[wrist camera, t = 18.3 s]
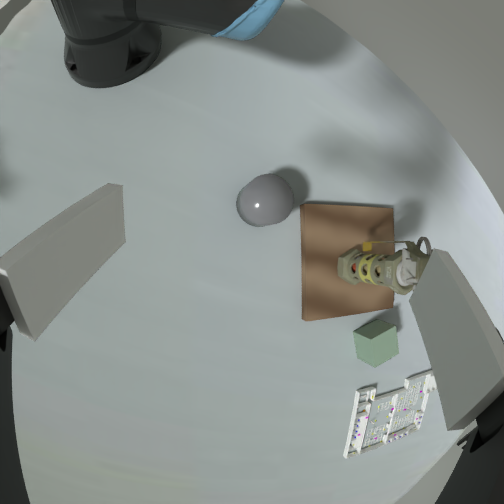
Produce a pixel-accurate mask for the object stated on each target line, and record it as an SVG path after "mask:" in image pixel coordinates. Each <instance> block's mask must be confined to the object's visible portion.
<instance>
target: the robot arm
mask: <svg viewBox="0 0 504 504" xmlns="http://www.w3.org/2000/svg"><path fill="white" fill-rule="evenodd" d="M51 2H52V4H53V7H54V9H55V12H56V14H57V16H58V19H59V21H60V23H61V26H62V28H63V30H64V33H65V35H66V36H65V49H64V61H65V65H66V68H67V70H68V72H69V74H70V75H71V77H72V78H73V79H74V80H75V81H76V82H77V83H79V84H81V85H83V86H86V87H91V88H107V87H112V86H116V85H120V84H123V83H125V82H127V81H129V80H131V79H133V78H135V77H137V76H138V75H140V74H141V73H143V72H144V71H145V70H146V69H147V68H148V67H149V66H150V65H151V64H152V63H153V62H154V60H155V59H156V57H157V55H158V53H159V51H160V47H161V30H160V26H159V25H165V26H171V27H177V28H182V29H187V30H192V31H197V32H201V33H205V34H210V35H211V36H213V37H214V36H215V37H219V36H222V37H227V38H231V39H236V40H249V39H252V38H254V37H256V36H257V35H258V34H259V33H261V32H262V30H263V29H264V28H265V27H266V26H267V25H268V23H269V22H270V21H271V19H272V18H273V17H274V15H275V14H276V12H277V11H278V10H279V8H280V7H281V5H282V3H283V2H284V0H51ZM125 242H126V239H125V226H124V210H123V185H118V184H110V183H108V184H106V185H104V186H103V187H101V188H99V189H98V190H96V191H94V192H93V193H91V194H89V195H88V196H86V197H85V198H83V199H81V200H80V201H78V202H77V203H75V204H74V205H72V206H70V207H69V208H67V209H66V210H64V211H63V212H61V213H60V214H58V215H57V216H55V217H54V218H53V219H51V220H50V221H48V222H47V223H45V224H44V225H42V226H41V227H40V228H38V229H37V230H36V231H34V232H33V233H31V234H30V235H29V236H27V237H26V238H25V239H23V240H22V241H21V242H19V243H18V244H17V245H15V246H14V247H13V248H12V249H10V250H9V251H8V252H7V253H5V254H4V255H3V256H2V257H0V504H30V502H29V498H28V494H27V491H26V487H25V482H24V478H23V474H22V469H21V464H20V459H19V453H18V447H17V440H16V433H15V424H14V414H13V400H12V337H13V334H12V329H11V327H10V325H11V324H12V323H13V321H15V323H16V325H17V327H18V329H19V331H20V333H21V334H22V335H24V336H26V337H28V338H29V339H31V340H33V341H36V340H37V339H38V337H39V336H40V335H41V334H42V332H43V331H44V330H45V329H46V328H47V326H48V325H49V324H50V323H51V322H52V320H53V319H54V318H55V317H56V316H57V315H58V313H59V312H60V311H61V310H62V309H63V308H64V307H65V305H66V304H67V303H68V302H69V301H70V300H71V299H72V298H73V296H74V295H75V294H76V293H77V292H78V291H79V290H80V289H81V288H82V287H83V285H84V284H85V283H86V282H87V281H88V280H89V279H90V278H91V277H92V276H93V275H94V274H95V273H96V272H97V271H98V270H99V268H100V267H101V266H102V265H103V264H104V263H105V262H106V261H107V260H108V259H109V258H110V257H111V256H112V255H113V254H114V253H115V252H116V251H117V250H118V249H119V248H120V247H121V246H122V245H123V244H124V243H125ZM409 302H410V305H411V307H412V310H413V313H414V315H415V318H416V321H417V324H418V327H419V330H420V332H421V335H422V338H423V341H424V344H425V348H426V351H427V354H428V357H429V360H430V364H431V367H432V371H433V374H434V378H435V381H436V385H437V389H438V392H439V396H440V400H441V404H442V409H443V413H444V417H445V422H446V426H447V431H449V430H459V429H464V428H465V427H467V426H468V425H469V424H470V423H471V422H472V421H474V419H476V421H477V425H478V426H477V427H476V428H474V429H473V430H472V431H471V432H469V433H468V434H467V435H466V436H464V437H463V438H462V439H461V440H460V441H459V442H458V443H457V445H458V446H459V445H460V444H462V443H463V442H464V441H467V443H466V445H464V446H463V447H462V449H463V452H462V454H461V456H460V458H459V460H458V462H457V464H456V466H455V468H454V470H453V472H452V474H451V476H450V478H449V480H448V482H447V483H446V485H445V487H444V489H443V491H442V492H441V494H440V496H439V497H438V499H437V501H436V502H435V504H504V343H503V342H504V341H503V339H502V337H501V335H500V333H499V331H498V330H497V328H496V327H495V326H494V324H493V322H492V321H491V319H490V317H489V315H488V314H487V312H486V310H485V308H484V307H483V305H482V303H481V302H480V300H479V298H478V297H477V295H476V294H475V292H474V290H473V289H472V287H471V286H470V284H469V282H468V281H467V279H466V278H465V276H464V275H463V273H462V272H461V270H460V269H459V267H458V266H457V264H456V263H455V262H454V260H453V259H452V257H451V256H450V254H449V253H448V252H446V251H442V250H438V249H435V248H434V249H433V252H432V254H431V256H430V258H429V261H428V263H427V265H426V267H425V269H424V271H423V273H422V276H421V278H420V280H419V282H418V284H417V286H416V288H415V290H414V292H413V294H412V296H411V298H410V299H409Z"/></svg>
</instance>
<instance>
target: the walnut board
mask: <svg viewBox="0 0 504 504" xmlns="http://www.w3.org/2000/svg"><path fill="white" fill-rule="evenodd" d="M300 218H301V256H302V319H303V320H305V321H313V320H320V319H327V318H334V317H341V316H348V315H354V314H360V313H366V312H372V311H378V310H383V309H389V308H393V302H394V291H393V290H391V289H390V288H389V287H386V286H380V285H375V284H369V283H364V282H359V283H358V284H356V285H352V284H349V283H348V282H346V281H344V280H343V279H342V278H340V277H339V276H338V269H337V266H338V258H339V257H340V256H341V255H342V254H344V253H345V252H347V251H349V250H350V249H357V250H359V251H360V252H362V253H364V254H385V255H393V254H394V243H372V251H363V242H379V241H394V219H393V208H379V207H363V206H344V205H322V204H302V205H300ZM369 258H372V257H369ZM381 259H383V260H384V259H385V258H381ZM367 280H368V279H367ZM379 282H381V281H379Z"/></svg>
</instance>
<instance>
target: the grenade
mask: <svg viewBox="0 0 504 504" xmlns="http://www.w3.org/2000/svg"><path fill="white" fill-rule="evenodd" d="M423 240H424V242H425V244H426V249H427V254H425V253H423V252H422V251H421V250H420V246H421V243H422V241H423ZM403 242H405V243H406V245H407V249H404V248H403V250H399V251H397V252H396V253H394V254H393V255H385V254H364V253H362V252H360V251H359V250H357V249H350V250H349V251H347V252H345V253H344V254H342V255H341V256H340V257H339V258H338V266H337V269H338V276H339V277H340V278H342V279H343V280H344V281H346V282H348V283H349V284H352V285H356V284H358V283H359V282H364V283H369V284H375V285H380V286H386V287H389V288H390V289H391V290H393V291H394V292H396V293H397V294H401V295H406V294H407V293H409V292H410V291H411V290H413V292H414V290H415V288H416V286H417V284H418V282H419V280H420V278H421V276H422V273H423V271H424V269H425V267H426V265H427V263H428V261H429V258H430V256H431V254H432V252H433V249H432V250H431V245H430V242H429V240H428V239H427V238H426V237H420V239H419V240H418V242H417V245H415V243H414V242H410V241H379V242H363V251H372V243H403ZM369 257H372V258H369ZM381 258H385V259H384V260H383V259H381ZM367 279H368V280H367ZM379 281H381V282H379Z"/></svg>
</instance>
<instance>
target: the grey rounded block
mask: <svg viewBox="0 0 504 504" xmlns="http://www.w3.org/2000/svg"><path fill="white" fill-rule="evenodd" d="M293 204H294V197H293V192H292V190H291V188H290V186H289V185H288V183H287V182H286V181H285V180H284V179H282V178H281V177H279V176H276V175H273V174H264V175H260V176H258V177H256V178H255V179H253V180H252V181H251V182H250V183H248V184H247V185H246V186H245V187H244V188H243V189H242V190H241V191H240V192H239V194H238V197H237V201H236V206H237V211H238V213H239V215H240V217H241V218H242V219H243V221H245V222H246V223H247V224H249V225H251V226H255V227H263V226H267V225H272V224H277V223H280V222H282V221H283V220H285V219H286V218H287V217H288V216H289V214H290V213H291V211H292V208H293Z"/></svg>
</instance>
